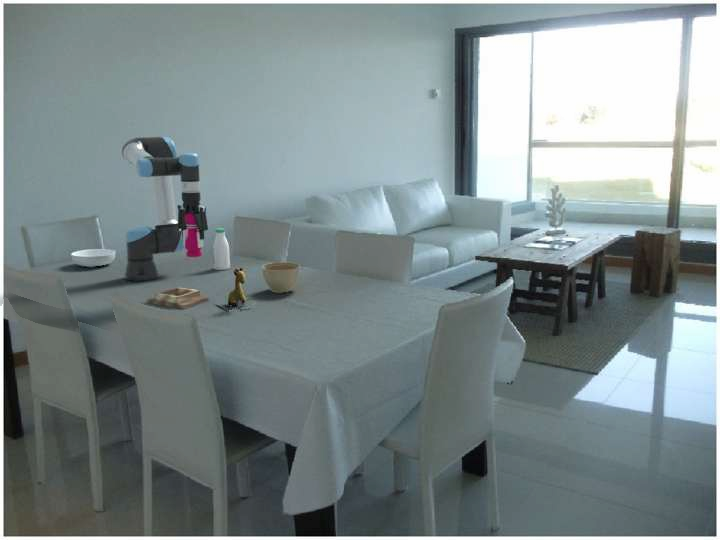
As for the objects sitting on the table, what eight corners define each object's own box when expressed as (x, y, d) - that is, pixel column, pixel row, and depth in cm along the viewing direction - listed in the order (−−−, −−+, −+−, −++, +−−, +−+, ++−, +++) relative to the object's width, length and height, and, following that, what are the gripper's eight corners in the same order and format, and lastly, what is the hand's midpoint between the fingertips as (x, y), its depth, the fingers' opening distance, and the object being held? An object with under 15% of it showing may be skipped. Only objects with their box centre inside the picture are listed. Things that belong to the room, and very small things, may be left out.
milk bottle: (233, 268, 336) (231, 228, 332) (222, 271, 329) (220, 230, 325) (221, 266, 340) (219, 227, 336) (210, 269, 333) (208, 229, 329)
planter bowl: (255, 291, 291) (254, 266, 288) (283, 284, 302) (283, 260, 300) (279, 297, 280) (278, 271, 278) (308, 290, 291) (307, 265, 289)
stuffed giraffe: (229, 313, 257) (228, 271, 255) (211, 304, 272) (210, 265, 269) (267, 308, 266) (267, 268, 264) (247, 300, 281) (247, 262, 278)
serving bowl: (107, 270, 333) (106, 256, 331) (65, 270, 333) (63, 256, 332) (122, 261, 353) (121, 248, 352) (82, 261, 353) (81, 248, 352)
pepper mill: (198, 257, 281) (196, 209, 277) (182, 257, 282) (179, 209, 278) (205, 254, 288) (203, 207, 283) (190, 253, 289) (187, 207, 285)
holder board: (147, 302, 273) (146, 292, 272) (172, 294, 284) (171, 285, 284) (184, 308, 263) (183, 298, 262) (208, 300, 275) (208, 291, 274)
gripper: (166, 191, 281) (169, 245, 286) (203, 193, 271) (205, 250, 276) (179, 189, 287) (182, 242, 292) (215, 192, 278) (218, 247, 283)
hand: (193, 246), depth 284 cm, fingers closed on pepper mill, 7 cm apart
